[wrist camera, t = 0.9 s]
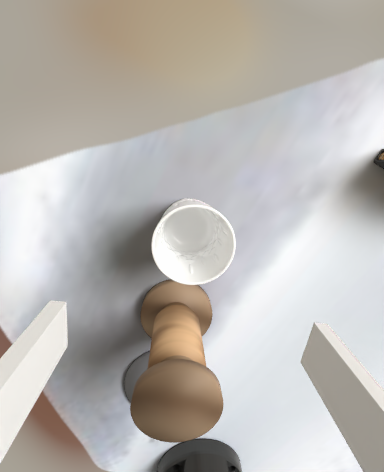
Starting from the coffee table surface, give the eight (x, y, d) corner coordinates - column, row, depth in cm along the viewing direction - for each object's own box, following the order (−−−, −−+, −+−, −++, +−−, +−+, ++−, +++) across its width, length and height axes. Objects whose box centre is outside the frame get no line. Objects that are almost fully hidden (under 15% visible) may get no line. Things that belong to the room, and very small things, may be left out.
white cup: (158, 251, 33) (151, 285, 24) (158, 192, 31) (151, 203, 22) (216, 252, 34) (232, 285, 24) (220, 194, 32) (239, 206, 22)
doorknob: (205, 341, 38) (224, 452, 23) (139, 336, 37) (115, 448, 22) (215, 282, 35) (244, 364, 21) (145, 275, 34) (122, 355, 20)
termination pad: (200, 415, 42) (201, 419, 41) (122, 411, 40) (121, 415, 40) (213, 350, 38) (213, 353, 38) (128, 344, 37) (127, 347, 36)
